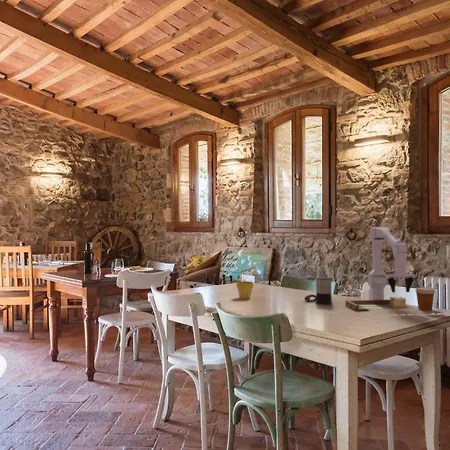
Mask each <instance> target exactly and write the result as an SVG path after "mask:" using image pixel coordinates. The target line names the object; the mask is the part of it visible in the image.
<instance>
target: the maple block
mask: <svg viewBox="0 0 450 450" xmlns="http://www.w3.org/2000/svg"><path fill="white" fill-rule="evenodd" d="M389 300H390V305H391V306H394V307H406V305H407V299H406V297H403V296H389Z"/></svg>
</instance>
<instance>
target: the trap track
mask: <svg viewBox="0 0 450 450" xmlns="http://www.w3.org/2000/svg"><path fill="white" fill-rule="evenodd" d="M345 307H347V308H349V309H351V310H353V311H354V312H371V310H386V309H388V310H389V309H390V310H391V309H392V310H393V309H415V307H413V306H411V305H408V304H406V307H394V306H391V305H390V299H384V300H369V299H356V300H345Z"/></svg>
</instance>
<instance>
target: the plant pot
mask: <svg viewBox="0 0 450 450" xmlns="http://www.w3.org/2000/svg"><path fill="white" fill-rule="evenodd" d="M236 288H237V291H238V297H239V299H241V300H242V299H243V300H246V299H251V296H252V290H253V288H254V282H253V281H245V280H242V281H237V282H236Z"/></svg>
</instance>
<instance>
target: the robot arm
mask: <svg viewBox="0 0 450 450" xmlns="http://www.w3.org/2000/svg"><path fill="white" fill-rule="evenodd" d="M369 241H370V242H371V243H372V245H371V246H372V249H371V250H372V252H371V253H372V270H371V271H369V272H368V275H367V284H368V286H369V289H368V300H385V288H386V286H387V284H389V286H390V290H391V292H392V293H393V294H394V293H396V282H397V279H404V281H405V292H406V293H410V291H411V287H412V285H413V283H414V280H415V278H416V275H415V273H414V274H413V273H407V254H408V253H409V245H408V243H407V242H403V241H401V240H400V239H399V237H397V235H392V233H391V229H390V228H389V226H372V227H370V229H369ZM384 241H386V242H387V245H389V247H391V250H392V253H393V258H394V260H393V261H394V263H393V264H394V265H393V266H394V273H392V274H391V273H390V274H389V273H388V274H387V272H385V271H383V262H382V260H383V259H382V243H383V242H384Z"/></svg>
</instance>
